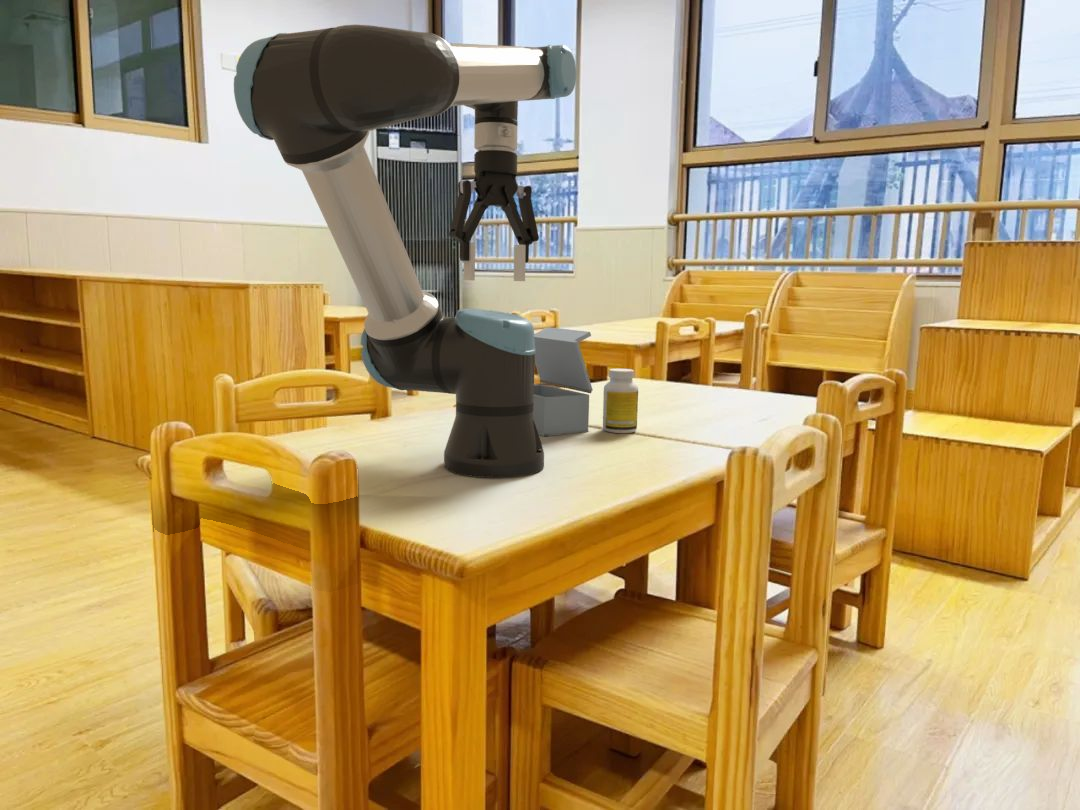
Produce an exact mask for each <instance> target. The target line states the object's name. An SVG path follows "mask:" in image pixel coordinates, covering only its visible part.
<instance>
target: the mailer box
mask: <svg viewBox="0 0 1080 810" xmlns="http://www.w3.org/2000/svg"><path fill="white" fill-rule="evenodd" d="M589 412H590V394H589V393H585V392H580V391H576V390H571V389H566V388H562V387H557V386H553V385H548V384H544V383H541V384H534V404H533V416H534V421H535V424H536V428H537V431H538V434H539V437H540V436H541V437H544V438H545V437H551V436H552V437H554V436H561V435H562V436H563V435H570V434H571V435H572V434H579V433H587V432H589V423H590V422H589V419H590V418H589V416H590V413H589Z"/></svg>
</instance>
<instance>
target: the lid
mask: <svg viewBox="0 0 1080 810" xmlns="http://www.w3.org/2000/svg"><path fill="white" fill-rule="evenodd" d="M590 337H592V333H591V332H590V331H585V330H577V329H568V328H559V327H549V326H546V327H545V328H543V329H541V330H538V331H537V332H534V339H535V347H536V352H535V365H534V366H535V367H536V370H537V373H538V376H539V383H541V384H544V385H548V386H553V387H558V388H562V389H567V390H571V391H576V392H581V393H585V394H591V393H592V391H593V387H592V383H591V380H590V377H589V373H588V370H587V367H586V363H585V360H584V357H583V354H582V350H581V347H580V342H582V341H584V340H586V339H588V338H590Z"/></svg>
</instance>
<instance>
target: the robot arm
mask: <svg viewBox="0 0 1080 810" xmlns="http://www.w3.org/2000/svg"><path fill="white" fill-rule="evenodd" d="M235 71H236V73H235V76H234V78H233V93H234V101H235V105H236V108H237V111H238V114H239V116H240V118H241V120H242V122H243V123H244V125H245V126H246V127H247V128H248V129H249V130H250V132H251V133H253V134H254V135H255V134H256V135H258V136H259V137H260V138H263V139H266V140H269V141H274V143H275V145H276V147H277V149H278V151H279V153H280V155H281V157H282V159H283V161H284V163H285V164H286V165H287V166H290V167H292V168H295V169H298V170H300V171H301V172H302V174H303V176H304V177H305V180H306V182H307V184H308V187H309V188H310V191H311V193H312V195H313V197H314V199H315V202H316V204H317V205H318V208H319V210H320V212H321V214H322V217H323V218H324V221H325V223H326V225H327V228H328V230H329V232H330V233H331V236H332V238H333V240H334V242H335V244H336V246H337V248H338V252H339V253H340V255H341V258H342V259H343V261H344V264H345V266H346V269H347V270H348V272H349V274H350V276H351V279H352V281H353V283H354V286H355V287H356V289H357V291H358V294H359V296H360V297H361V300H362V302H363V304H364V306H365V309H366V310H367V315H366V317H365V320H364V323H363V325H364V326H363V327H364V328H363V330H362V333H361V338H360V345H361V346H362V347H363V349H362V350H360V354H361V359H362V363H363V365H364V368H365V370H366V371H367V373H368V374H369V375H370V377H371V378H372V379H373V380H374V381H375V382H376V383H378V384H380V385H381V386H384V387H387V388H392V389H396V390H399V391H407V392H409V391H417V392H428V393H440V394H450V395H455V418H454V421H453V424H452V427H451V430H450V433H449V435H448V439H447V442H446V446H445V448H444V451H443V467H444V469H446V470H448V471H449V472H451V473H455V474H458V475H461V476H462V475H463V476H468V477H469V476H470V477H477V478H478V477H479V478H513V477H521V476H527V475H528V476H529V475H532V474H536V473H538V472H541V471H542V470H543V469H544V468H545V451H544V448H543V444H542V441H541V438H540V435H539V434H538V431H537V428H536V424H535V421H534V416H533V404H534V385H535V366H536V365H535V352H536V347H535V339H534V334H535V328H534V325H533V323H532V322H531V321H530V320H529V319H527V318H526V317H523V316H521V315H518V314H514V313H513V314H512V313H509V312H504V311H497V310H492V309H491V310H489V309H481V308H459V309H457V311H456V313H455V316H453V317H452V316H451V317H450V316H444V314H443V311H442V309H441V306H440V304H439V302H438V300H437V298H436V297H435V296H434V295H433V294H432V293H430V292H427V291H423V289H422V287H421V283H420V282H419V279H418V277H417V274H416V272H415V270H414V267H413V264H412V261H411V260H410V257H409V255H408V251H407V249H406V247H405V245H404V242H403V240H402V237H401V234H400V232H399V230H398V227H397V225H396V222H395V220H394V217H393V215H392V213H391V211H390V208H389V205H388V202H387V200H386V198H385V195H384V193H383V190H382V187H381V185H380V183H379V180H378V178H377V175H376V173H375V170H374V168H373V166H372V163H371V161H370V158H369V155H368V154H367V151H366V149H365V144H366V142H367V140H368V137H369V135H370V134H371V133H370V132H371V131H374V130H378V129H379V130H380V129H383V128H386V127H390V126H395V125H398V124H402V123H405V122H406V123H407V122H409V121H413V120H417V119H422V118H428V117H429V118H430V117H436V116H440V115H441V114H444V112H446V111H448V110H449V109H450V108H451V107H456V106H457V107H459V106H464V107H467V108H470V109H473V110H474V139H473V140H474V141H473V142H474V145H473V146H474V147H473V148H474V149H475V150H477V151H476V152H475V153H474V157H473V159H474V162H473V163H474V164H473V169H474V170H473V171H474V174H475V175H474V178H473V180H472V181H471V180H467V179H466V180H460V181H459V182H458V183H457V190H458V192H457V193H458V195H457V196H458V197H457V200H456V204H455V208H454V212H453V216H452V220H451V223H450V229H449V233H448V235H449V238H451V239H455V240H456V242H458V243H459V259H460V261H461V262H462V261H463V276H462V277H463V279H462V280H463V281H475V277H476V276H475V274H476V273H475V265H476V258H475V257H476V254H475V253H476V251H475V250H476V246H475V245H476V242H471V240H472V238H473V236H474V235H475V233H476V230H477V227H478V226H479V224H480V222H481V221H482V218H483V216H484V214H485V212H486V210H487V209H489V207H493V206H494V207H496V208H501V210H502V211H503V213H504V214H505V216H506V219H507V221H508V223H509V225H510V227H511V229H512V230H511V231H512V232H513V234H514V237H515V238H516V241H517V243H518V244H514V246H513V282H526V263H529V260H530V259H529V258H530V257H529V256H530V253H529V252H530V245H532V244H533V243H534V242H537V241H539V231H538V227H537V222H536V217H535V211H534V207H533V202H532V190H533V188H532V186H531V185H525V186H524V185H519V184H518V183H517V173H518V155H517V153H516V152H515V151H517V150H518V114H519V113H518V111H519V109H518V108H519V102H522V101H523V102H524V101H525V102H526V101H537V100H539V101H540V100H555V99H558V98H565V97H568V96H570V95H571V94H572V93H573V91H574V89H575V86H576V83H577V64H576V60H575V56H574V54H573V52H572V51H571V49H570V48H569V47H568V46H567V45H564V44H560V45H559V44H556V45H552V44H548V45H546V46H534V47H533V46H517V45H515V46H514V45H497V44H496V45H493V44H478V43H477V44H476V43H475V44H473V43H458V42H457V43H453V42H447V40H445V39H444V38H442V37H441V36H439V35H437V34H436V33H435V34H434V33H431V32H421V31H414V30H407V29H399V28H395V27H394V28H392V27H384V26H378V25H368V24H345V25H340V26H335V27H329V28H328V27H326V28H320V29H314V30H307V31H306V30H305V31H298V32H290V33H287V32H279V33H277V34H275V35H273V36H269V37H264V38H260V39H257V40H254V41H253V42H252V43H250V44H249V45H248V46H246V47H245V49H244V50H243V52H242V53H241V54H240V56H239V58H238V60H237V63H236V67H235ZM474 191H475V193H476V195H477V196H476V199H475V201H474V203H473V207H472V209H471V211H470V213H469V215H468V211H469V206H470V202H471V197H472V194H473V192H474ZM515 195H516V197H517V198H518V199H517V201H518V205H517V202H516V200H515V198H514V196H515ZM518 206H519V211H520V212H519V211H518ZM467 215H468V217H467ZM466 218H467V219H466Z"/></svg>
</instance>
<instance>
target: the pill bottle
mask: <svg viewBox="0 0 1080 810" xmlns="http://www.w3.org/2000/svg"><path fill="white" fill-rule="evenodd" d="M608 377H609V381H608V382H606V384H605V385H604V386H603V404H602V405H603V406H602V407H603V408H602V410H603V411H602V415H603V416H602V428H603V430H604V431H606V432H608V433H612V434H613V433H614V434H629V433H630V434H631V433H635V431H637V430H638V410H639V409H638V406H639V405H638V403H639V386H638V385H637V384H636V383H635V382H634V381H633V378H635V370H634V369H631V368H610V369H609V370H608Z"/></svg>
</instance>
